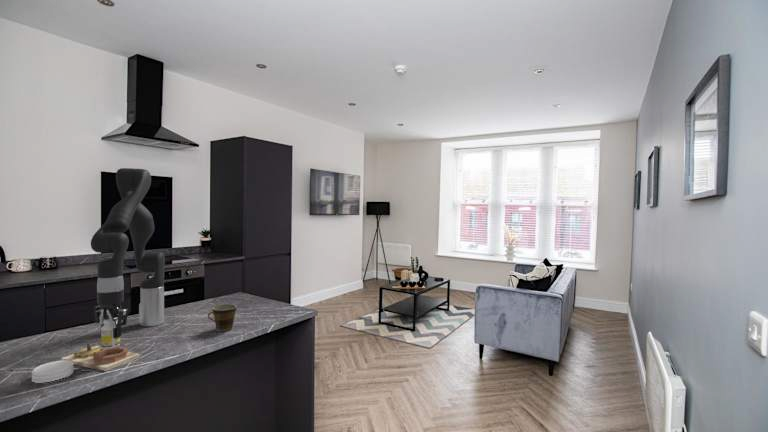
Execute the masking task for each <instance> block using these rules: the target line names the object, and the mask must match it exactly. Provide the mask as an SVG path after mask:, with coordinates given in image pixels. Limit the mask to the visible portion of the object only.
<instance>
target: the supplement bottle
mask: <svg viewBox="0 0 768 432" xmlns="http://www.w3.org/2000/svg"><path fill="white" fill-rule="evenodd" d="M116 318H118V316H117V317H116ZM116 318H114V319H116ZM117 322H118V321H116V324H117ZM103 323H104V326H102V327H101V326H100V339H101V340H100V341H101V342H100V343H101V345H100V346H101V347H102V348H103V349H110V348H116V347H120V345H121V337H119V338H116V339H115V338H113V328H114V327H113V324H112V322H110V319H109V318H106V319H104V320H103Z"/></svg>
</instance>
